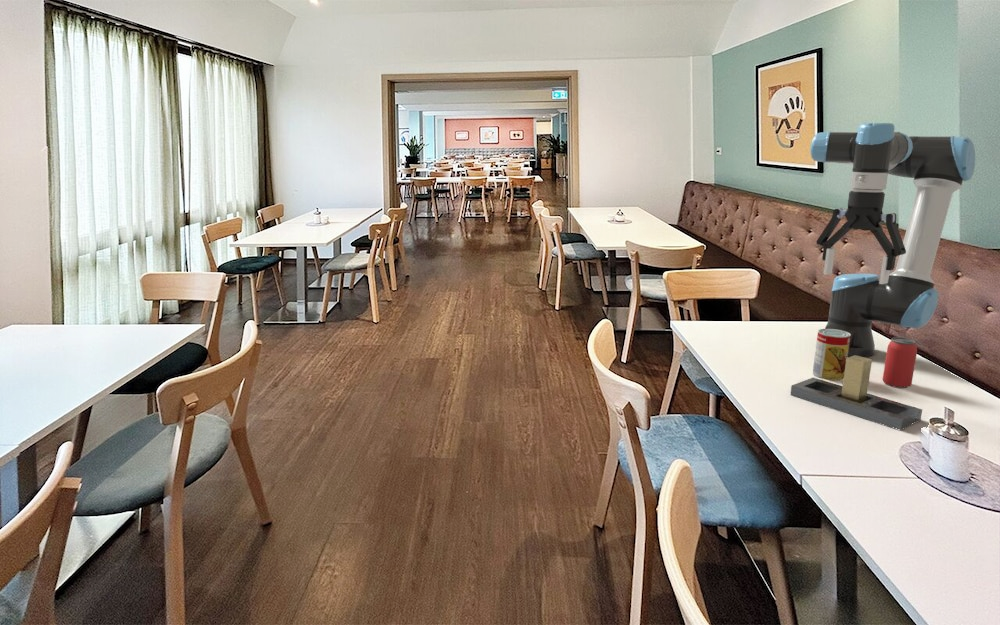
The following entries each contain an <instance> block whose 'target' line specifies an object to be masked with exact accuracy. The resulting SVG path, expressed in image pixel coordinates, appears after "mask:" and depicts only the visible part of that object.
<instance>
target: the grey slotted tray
mask: <svg viewBox="0 0 1000 625" xmlns="http://www.w3.org/2000/svg"><path fill="white" fill-rule="evenodd" d="M842 386H843V385H839V384H837V383H833V382H830V381H828V380H827V381H826V380H824V379H821V378H818V377H817V378H816V377H811V378H808V379H805V380H802V381H799V382H798V383H795V384H792V385H791V387H790V388H791V389H790V396H793V397H796V398H799V399H802V400H806V401H808V402H811V403H815V404H818V405H820V406H824V407H826V408H827V407H828V408H830V409H833V410H836V411H839V412H841V413H842V412H843V413H846V414H848V415H852V416H854V415H855V417H857V416H858V418H861V419H864V420H868V421H870V422H873V421H874V422H873V423H876V422H877V424H879V423H881V424H880V425H882V424H884V425H883V426H885V425H887V426H886V427H888V426H890V427H889V428H892V427H894V428H893V429H895V428H897V429H896V430H898V429H900V430H899V431H902V430H904V429H906V428H908V427H910V426H911V424H912V423H914V422H915V423H917V422H920V421H921V420H922V414H923V408H918V407H916V406H912V405H909V404H905V403H902V402H899V401H894V400H892V399H888V398H884V397H881V396H878V395H876V394H875V395H873V394H870V393H868V392H867V396H866V401H865V402H863V403H861V404H860V403H857V402H854V401H850V400H847V399H844V398H841V393H842ZM915 423H914V424H915ZM909 425H910V426H909ZM912 425H913V424H912ZM907 426H908V427H907ZM905 427H906V428H905ZM903 428H904V429H903ZM901 429H902V430H901Z"/></svg>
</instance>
